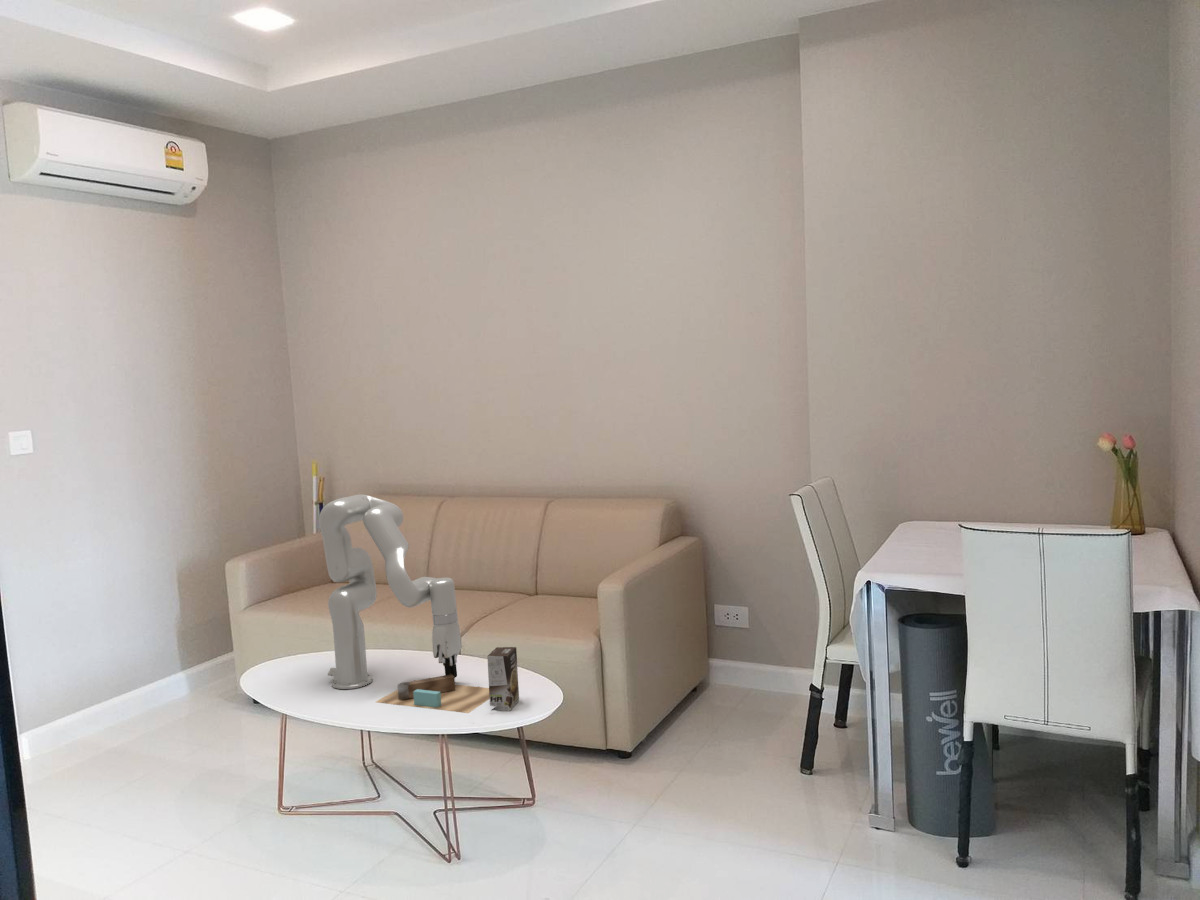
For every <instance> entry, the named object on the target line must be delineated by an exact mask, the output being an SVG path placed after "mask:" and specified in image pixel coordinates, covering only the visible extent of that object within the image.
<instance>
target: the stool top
mask: <svg viewBox="0 0 1200 900" xmlns="http://www.w3.org/2000/svg"><path fill="white" fill-rule="evenodd" d="M413 681H417V680H413ZM488 700H489V701H490V697H489V687H482V686H473V685H463V684H455V690H452V691H446V692H441V706H439V707H438V708H436V707H427V706H419V705H414V698H409V699H405V700H400V699H398V689H396V690H394V691H392V692H391V693H389V694H387V695H385V696H383V697H381V698H380V699H378V700H376V701H375V703H378V704H386V705H387V704H388V705H394V706H395V705H396V706H405V707H413V708H420V709H421V708H422V709H429V710H437V711H447V712H456V713H461V714H462V713H464V714H469V713H471V712H472V711H474V710H475V709H477V708H479V707H480V706H481V705H483V704H484V703H486V702H487V701H488Z"/></svg>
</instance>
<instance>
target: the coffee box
mask: <svg viewBox="0 0 1200 900" xmlns="http://www.w3.org/2000/svg"><path fill="white" fill-rule="evenodd" d="M517 653H518V651H517V647H516V646H510V647H509V646H504V647H502V646H501V647H500V646H499V647H495V649H493V650H492V651H491V652H490V653H489V654H488V655H487V673H488V674H487V675H488V676H487V677H488V688H489V697H490V699H489V706H491V707H492V706H493V708H492V709H491V711H500V710H501V712H502V711H503V712H504V711H505V712H511V710H512V709H513V708H514V707H515V706H516V704H517V703H518V702H519V701H520V691H519V671H518V655H517Z"/></svg>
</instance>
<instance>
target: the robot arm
mask: <svg viewBox="0 0 1200 900" xmlns="http://www.w3.org/2000/svg"><path fill="white" fill-rule="evenodd" d="M318 516H319V517H318V525H319V526H318V527H319V530H320V534H321V537H322V542H323V550H324V557H325V563H326V567H327V573H328V576H329V578H330V580H331V581H333V582H334V583H344V582H347V581H349V583H347V584H345V585H341V586H339V587H337V588H336V589H335V590H333V591H332V593H330V595H329V598H328V601H327V606H328V610H329V615H330V618H331V624H332V631H333V633H332V634H333V635H332V636H333V645H334V660H335V661H334V662H335V667H331V668H330V669H329V671H328V672H327V676H330V677H333V679H332V681H331V686H332V687H333V688H334V689H336V690H337V689H338V690H353V689H359V688H363V687H366V686H368V685H370V684H371V683H372V682H373V675H371V674H369V673H368V665H367V663H368V662H367V651H366V636H365V635H366V634H365V627H364V622H363V619H362V618H361V616H360V612H361V611H364V610H366V609H368V608H370V607H371V606H373V604H374V603H375V602H376V600H377V596H378V593H377V584H376V578H375V572H374V565H373V560H372V557H371V555H370V554H369V553H368V551H366V549H364V548H362V547H359V546H357V547H356V546H355V547H353V545H352V539H351V535H350V533H349V531H348V529H347V528H346V526H347V525H349V524H350V525H351V524H352V523H357V522H361V521H362V523H363V525H364V528H365V529H366V531H367V532H368V534H369V536H370V538H371V540H372V541H373V542H374V543H375V546H376V547H377V549H378V551H379V553H381V555H382V557H383V559H384V570H385V577H386V581H387V584H388V586H389V588H390V591H392V593H393V595H394V596H395V598H396V600H398V601H399V603H400V604H401V605H402V606H404V607H406V608H415V607H418V606H420V605H422V604H424V603H427V602H430V604H431V605H430V606H431V616H432V625H433V626H432V633H431V634H432V636H431V638H432V639H431V640H432V653H433V655H432V656H433V658H435V659H437V658H438V664H442V665H443V667H444V674H445V675H450V674H452V675H453V676H454V678H457V677H458V672H457V662H458V660H457V657H458V655H460V653H461V652H460V651H461V650H462V646H463V645H462V635H461V629H460V625H459V616H458V608H457V596H456V589H455V581H454V579H453V578H451V577H439V578H438V577H431V576H421V577H419V578H416V579H414V580H412V579H411V577H410V576H409V575H408V572H407V570H406V567H405V557H406V555H407V552H408V549H409V545H410V544H409V543H408V541H407V539H406V537H405V536H404V535H403V533H402V531H401V530H400V528H399V527H400V526H401V525H403V521H404V514H403V510H402V509H401V508H400V507H399V506H398V505H397V504H395V503H393V502H390V501H388V500H385V499H381V498H378V497H375V496H371V495H368V494H362V493H361V494H359V493H358V494H354V495H349V496H345V497H339V498H337V499H334V500H332V501H330V502H328V503H327V504H325V506H323V508H322V509H321V511H320V513H319V515H318ZM369 683H370V684H369ZM367 684H368V685H367ZM365 685H366V686H365ZM362 686H363V687H362Z"/></svg>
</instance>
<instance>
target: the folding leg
mask: <svg viewBox="0 0 1200 900" xmlns="http://www.w3.org/2000/svg"><path fill="white" fill-rule="evenodd" d="M455 678H456V677H455ZM455 678H454V676H453V675H452V674H450V675H439V676H435V677H428V678H423V679H417V680H416V681H414V680H410V681H406V682H405V681H404V682H401V683H398V684H397V690H398V699H400V700H405V699H409V698H414V695H413V691H415V690H417V689H420V690H429V691H438V692H446V691H452V690H455V685H456V679H455Z"/></svg>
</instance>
